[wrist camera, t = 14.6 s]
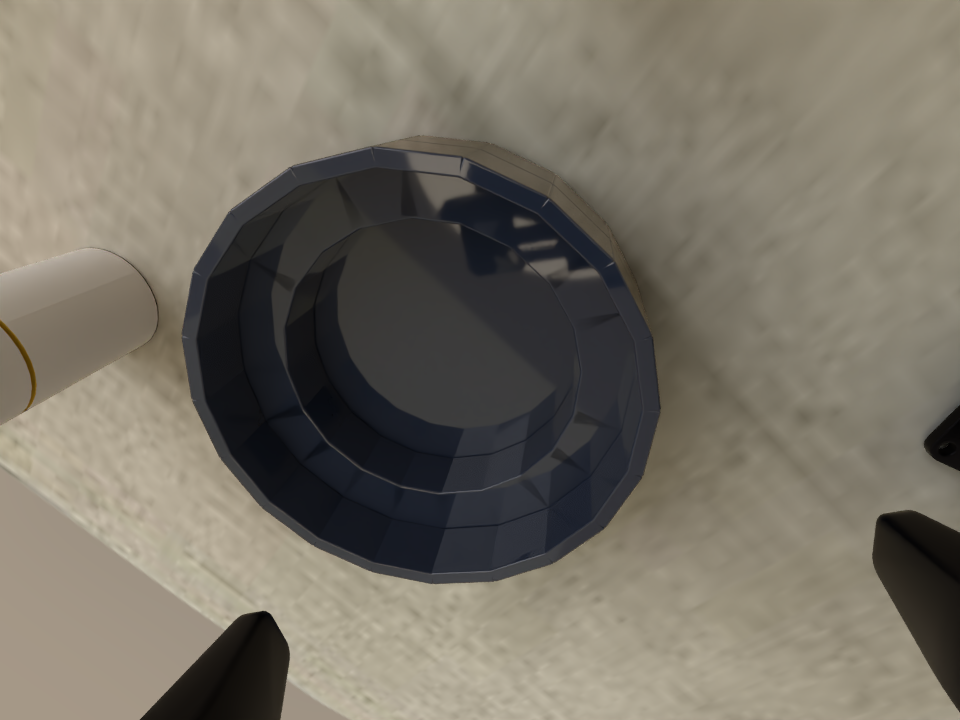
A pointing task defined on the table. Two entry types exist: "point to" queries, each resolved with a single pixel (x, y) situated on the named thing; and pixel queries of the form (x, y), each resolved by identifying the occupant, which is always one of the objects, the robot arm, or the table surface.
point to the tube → (67, 323)
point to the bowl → (425, 359)
